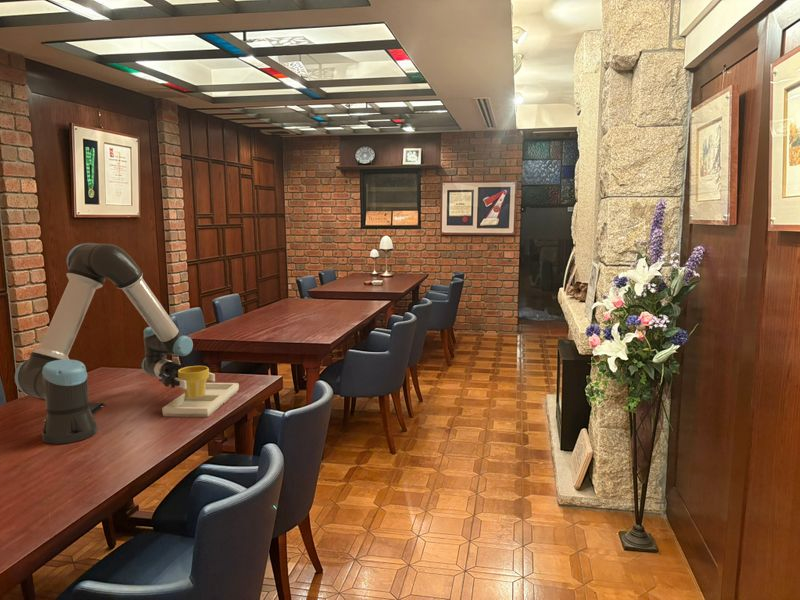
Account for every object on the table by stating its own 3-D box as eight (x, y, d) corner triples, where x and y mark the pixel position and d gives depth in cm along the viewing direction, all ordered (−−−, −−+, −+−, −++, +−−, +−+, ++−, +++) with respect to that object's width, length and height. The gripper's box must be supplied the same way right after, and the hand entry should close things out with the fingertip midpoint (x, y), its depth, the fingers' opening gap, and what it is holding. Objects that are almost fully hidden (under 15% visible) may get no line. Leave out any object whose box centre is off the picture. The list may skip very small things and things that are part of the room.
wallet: (84, 418, 192) (36, 420, 190) (84, 424, 192) (37, 426, 191) (108, 400, 212) (65, 401, 210) (109, 405, 212) (66, 406, 210)
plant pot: (188, 390, 210) (187, 364, 209) (215, 391, 209) (213, 365, 207) (174, 399, 200) (172, 372, 199) (201, 400, 199) (200, 373, 197)
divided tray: (207, 416, 196) (207, 408, 196) (162, 416, 197) (162, 407, 197) (238, 390, 227) (238, 383, 227) (199, 389, 228) (199, 382, 228)
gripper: (197, 374, 224) (229, 384, 210) (139, 387, 207) (170, 399, 193) (196, 355, 223) (228, 364, 209) (138, 367, 206) (168, 378, 192)
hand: (200, 381), depth 201 cm, fingers closed on plant pot, 10 cm apart
